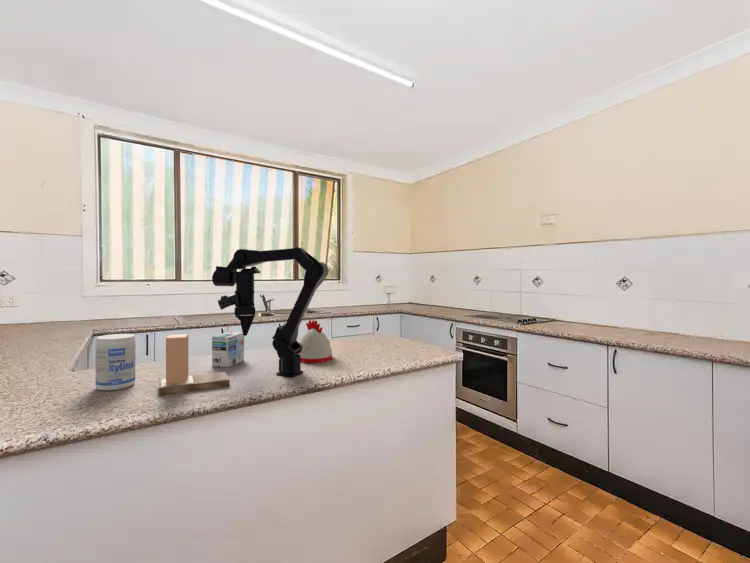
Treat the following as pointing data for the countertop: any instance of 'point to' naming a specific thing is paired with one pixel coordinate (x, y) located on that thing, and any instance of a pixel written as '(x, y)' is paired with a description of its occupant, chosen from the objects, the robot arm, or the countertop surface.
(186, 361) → the pillar
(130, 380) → the supplement tub
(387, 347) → the countertop surface
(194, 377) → the base board
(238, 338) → the light bulb box
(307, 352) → the kitchen timer
